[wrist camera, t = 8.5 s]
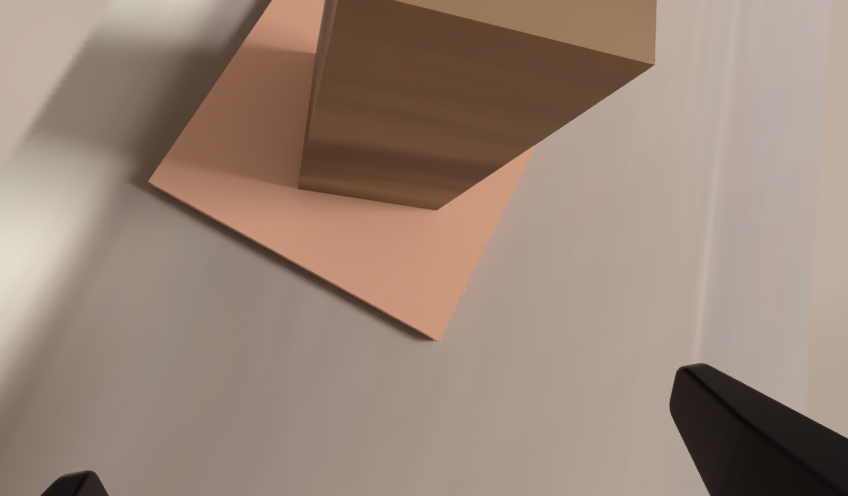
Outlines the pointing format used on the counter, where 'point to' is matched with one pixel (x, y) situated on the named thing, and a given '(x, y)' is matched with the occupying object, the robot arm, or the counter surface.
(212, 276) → the counter surface
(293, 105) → the terracotta tile
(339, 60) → the walnut block
